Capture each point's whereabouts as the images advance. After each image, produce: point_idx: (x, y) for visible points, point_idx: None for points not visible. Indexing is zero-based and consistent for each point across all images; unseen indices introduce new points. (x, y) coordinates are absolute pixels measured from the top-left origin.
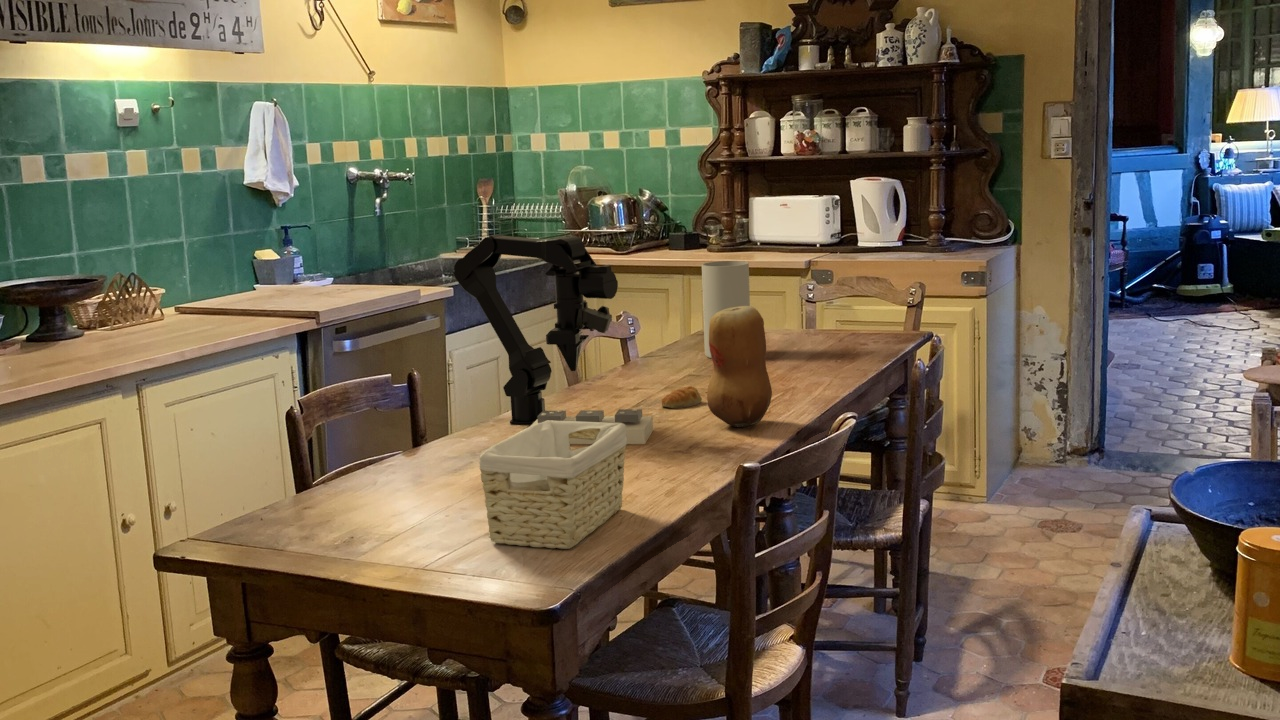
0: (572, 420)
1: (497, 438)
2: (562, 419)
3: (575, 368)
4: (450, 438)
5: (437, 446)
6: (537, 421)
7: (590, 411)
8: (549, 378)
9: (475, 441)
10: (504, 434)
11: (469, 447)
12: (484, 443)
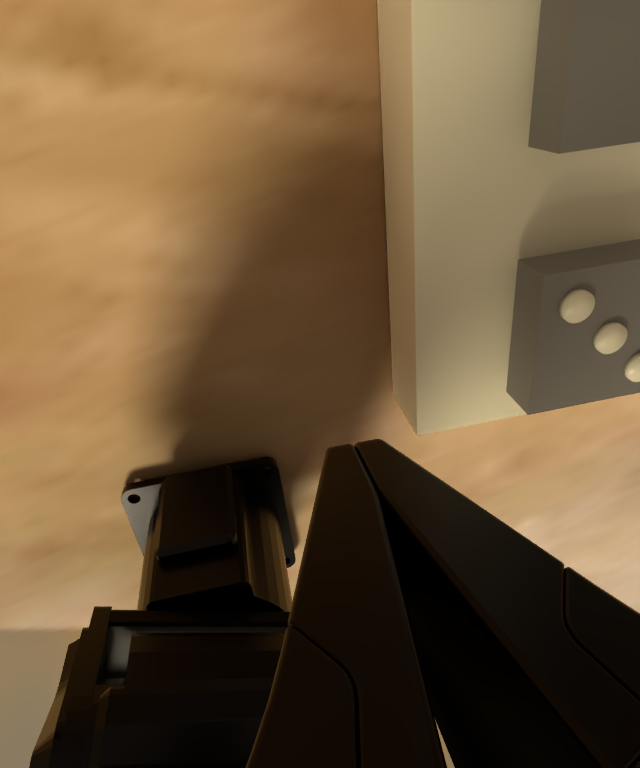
0: (520, 208)
1: (517, 497)
2: (622, 246)
3: (397, 453)
4: None
5: None
6: None
7: (607, 45)
8: (135, 644)
9: (552, 542)
10: None
11: (631, 522)
12: (585, 504)
